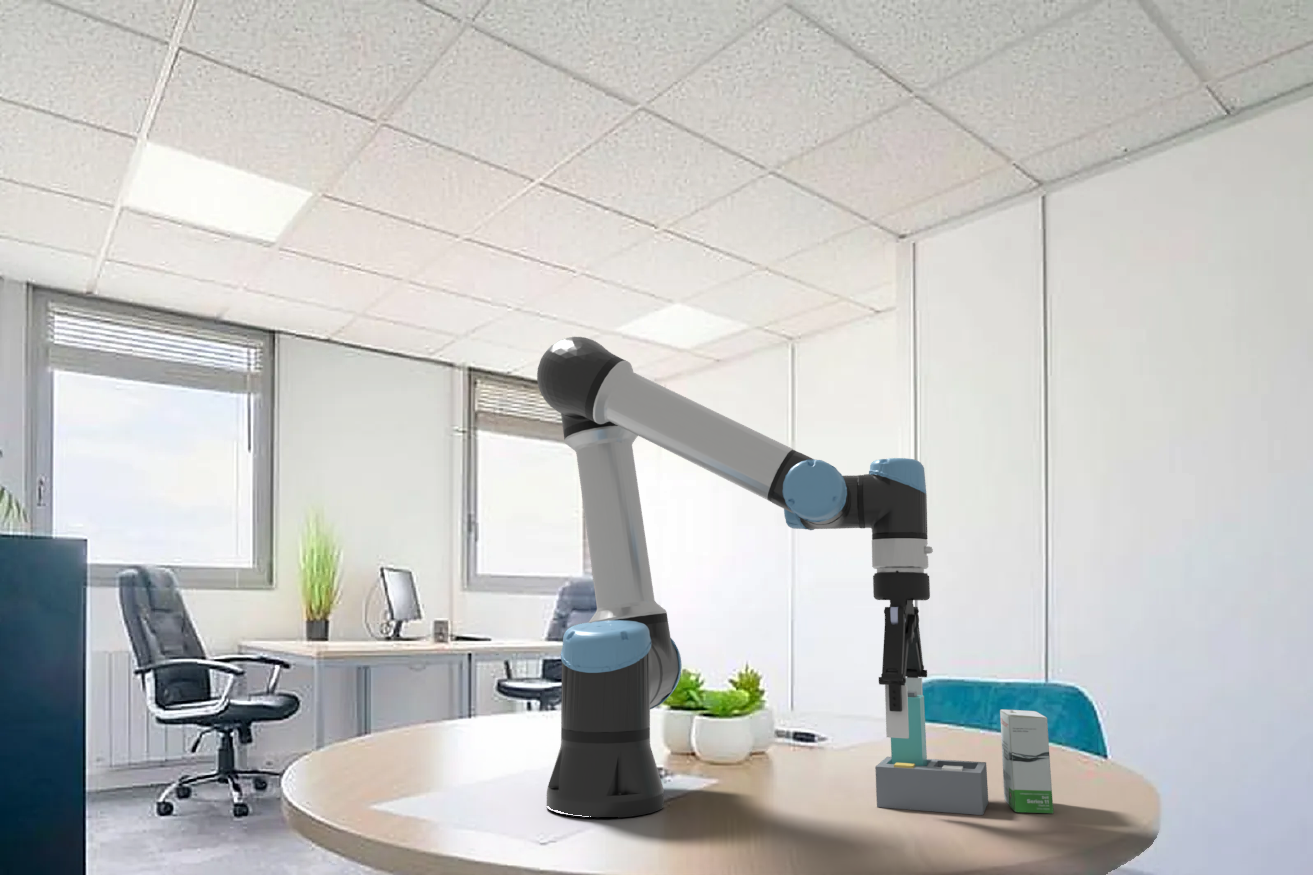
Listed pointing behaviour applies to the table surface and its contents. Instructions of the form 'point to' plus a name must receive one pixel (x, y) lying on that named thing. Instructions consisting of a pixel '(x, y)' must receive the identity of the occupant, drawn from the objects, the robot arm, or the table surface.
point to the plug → (912, 735)
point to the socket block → (933, 786)
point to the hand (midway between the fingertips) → (905, 731)
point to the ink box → (1026, 761)
